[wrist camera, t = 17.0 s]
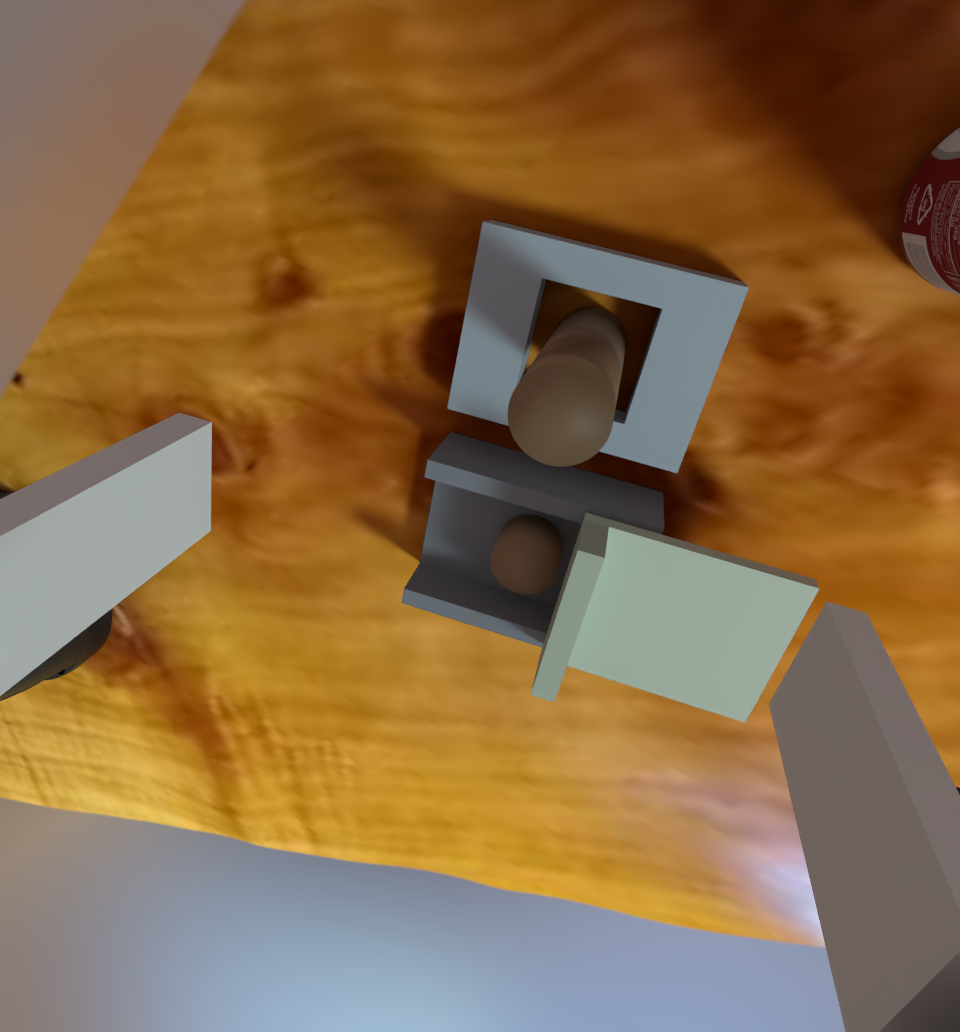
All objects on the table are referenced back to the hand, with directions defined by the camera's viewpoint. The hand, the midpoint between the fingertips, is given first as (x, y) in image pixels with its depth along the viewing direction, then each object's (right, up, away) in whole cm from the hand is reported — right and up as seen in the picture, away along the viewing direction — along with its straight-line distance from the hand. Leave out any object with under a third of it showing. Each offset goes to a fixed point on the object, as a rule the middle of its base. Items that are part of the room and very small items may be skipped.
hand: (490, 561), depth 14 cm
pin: (+5, +9, +19) cm, 22 cm away
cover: (+9, -4, +19) cm, 22 cm away
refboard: (+3, 0, +24) cm, 24 cm away
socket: (+5, +9, +19) cm, 22 cm away
